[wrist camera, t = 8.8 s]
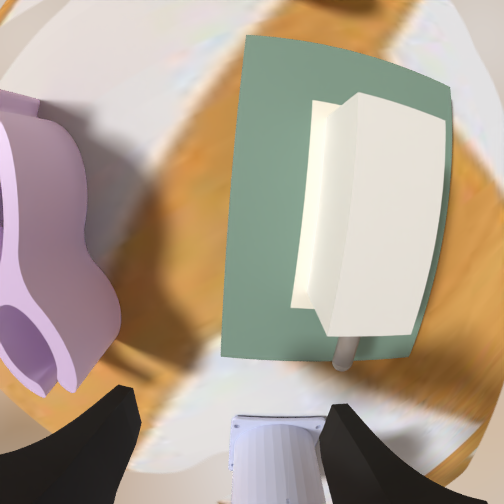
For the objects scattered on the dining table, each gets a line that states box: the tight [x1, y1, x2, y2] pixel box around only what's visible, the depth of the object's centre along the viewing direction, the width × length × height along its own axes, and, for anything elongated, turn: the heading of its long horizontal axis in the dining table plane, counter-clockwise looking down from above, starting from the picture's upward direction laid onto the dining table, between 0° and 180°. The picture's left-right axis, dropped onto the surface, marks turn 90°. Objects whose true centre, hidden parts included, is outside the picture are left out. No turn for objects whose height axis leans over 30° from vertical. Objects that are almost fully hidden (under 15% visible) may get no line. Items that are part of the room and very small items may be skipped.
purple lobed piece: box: [0, 89, 121, 398], centre depth 13 cm, size 20×12×7 cm, turn 24°
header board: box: [221, 35, 452, 361], centre depth 14 cm, size 20×14×4 cm
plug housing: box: [307, 92, 446, 371], centre depth 13 cm, size 14×4×5 cm, turn 175°
